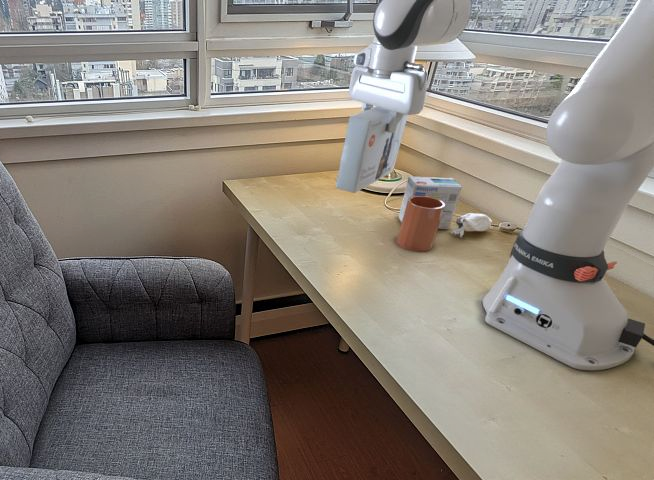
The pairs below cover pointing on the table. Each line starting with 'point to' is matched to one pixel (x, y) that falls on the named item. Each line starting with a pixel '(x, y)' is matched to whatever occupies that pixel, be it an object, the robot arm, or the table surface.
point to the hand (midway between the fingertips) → (378, 128)
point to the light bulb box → (434, 195)
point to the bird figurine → (472, 223)
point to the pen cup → (420, 223)
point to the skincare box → (368, 149)
